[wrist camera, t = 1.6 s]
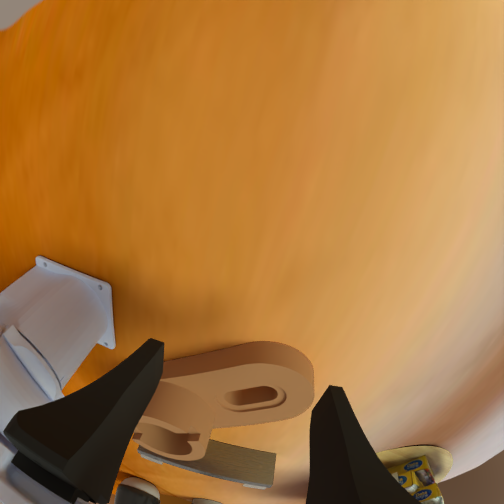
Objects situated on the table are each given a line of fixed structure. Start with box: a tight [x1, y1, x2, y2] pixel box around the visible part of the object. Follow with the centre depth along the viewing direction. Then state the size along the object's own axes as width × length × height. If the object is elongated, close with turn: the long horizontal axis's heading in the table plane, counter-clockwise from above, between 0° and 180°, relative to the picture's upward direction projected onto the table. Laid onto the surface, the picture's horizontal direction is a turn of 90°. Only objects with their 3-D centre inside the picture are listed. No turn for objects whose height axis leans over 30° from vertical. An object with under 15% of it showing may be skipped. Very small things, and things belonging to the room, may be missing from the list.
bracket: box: [132, 341, 314, 461], centre depth 23 cm, size 18×8×7 cm, turn 115°
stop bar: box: [137, 439, 276, 490], centre depth 30 cm, size 17×4×5 cm, turn 77°
